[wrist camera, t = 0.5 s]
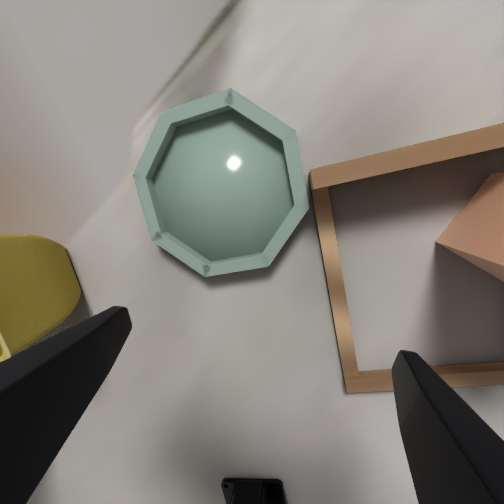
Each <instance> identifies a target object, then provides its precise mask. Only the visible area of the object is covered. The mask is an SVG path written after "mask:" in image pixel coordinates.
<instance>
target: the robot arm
mask: <svg viewBox="0 0 504 504" xmlns="http://www.w3.org/2000/svg"><path fill="white" fill-rule="evenodd" d="M131 329H132V322H131V319H130V316H129V312H128V309H127V308H126V307H121V306H113V307H111V308H109V309H107V310H105V311H103V312H101V313H99V314H97V315H95V316H93V317H91V318H89V319H87V320H85V321H83V322H81V323H79V324H77V325H75V326H73V327H71V328H69V329H67V330H65V331H63V332H60V333H58V334H56V335H54V336H52V337H50V338H48V339H46V340H44V341H42V342H40V343H38V344H36V345H34V346H32V347H30V348H28V349H26V350H24V351H22V352H20V353H18V354H16V355H14V356H12V357H10V358H8V359H6V360H4V361H2V362H0V504H26V503H27V501H28V500H29V498H30V496H31V495H32V493H33V492H34V490H35V489H36V487H37V485H38V484H39V482H40V481H41V479H42V478H43V476H44V474H45V473H46V471H47V470H48V468H49V467H50V465H51V463H52V462H53V460H54V459H55V457H56V456H57V454H58V452H59V451H60V449H61V448H62V446H63V445H64V443H65V441H66V440H67V438H68V437H69V435H70V434H71V432H72V430H73V429H74V427H75V426H76V424H77V422H78V421H79V419H80V418H81V416H82V415H83V413H84V411H85V410H86V408H87V407H88V405H89V404H90V402H91V400H92V399H93V397H94V396H95V394H96V393H97V391H98V389H99V388H100V386H101V385H102V383H103V382H104V380H105V378H106V377H107V375H108V373H109V372H110V370H111V368H112V366H113V365H114V363H115V361H116V359H117V357H118V355H119V353H120V351H121V349H122V347H123V345H124V343H125V341H126V339H127V337H128V335H129V333H130V331H131ZM391 373H392V381H393V388H394V395H395V402H396V408H397V415H398V422H399V427H400V432H401V436H402V441H403V444H404V448H405V452H406V456H407V460H408V464H409V468H410V472H411V475H412V479H413V483H414V487H415V491H416V495H417V499H418V502H419V504H504V441H503V440H502V439H501V438H500V437H499V436H498V435H497V434H496V433H495V432H494V431H493V430H492V429H491V428H490V427H489V426H488V425H487V424H486V423H485V422H484V421H483V420H482V419H481V418H480V416H479V415H478V414H477V413H476V412H475V411H474V410H473V409H472V408H471V407H470V406H469V405H468V404H467V403H466V402H465V401H464V400H463V399H462V398H461V397H460V396H459V395H458V394H457V393H456V392H455V391H454V390H453V389H452V388H451V387H450V386H449V385H448V384H447V383H446V382H445V381H444V380H443V379H442V378H441V377H440V376H439V375H438V374H437V373H436V372H435V371H434V370H433V369H432V368H431V367H430V366H429V365H428V364H427V363H426V362H425V361H424V360H423V359H422V358H421V357H420V356H419V355H418V354H417V353H416V352H412V351H406V350H400V351H399V352H398V355H397V357H396V359H395V362H394V364H393V366H392V372H391ZM221 486H222V490H223V493H224V497H225V500H226V503H227V504H288V503H287V499H286V494H285V490H284V486H283V483H282V481H281V480H279V479H243V478H224V479H223V480H222V484H221Z"/></svg>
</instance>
